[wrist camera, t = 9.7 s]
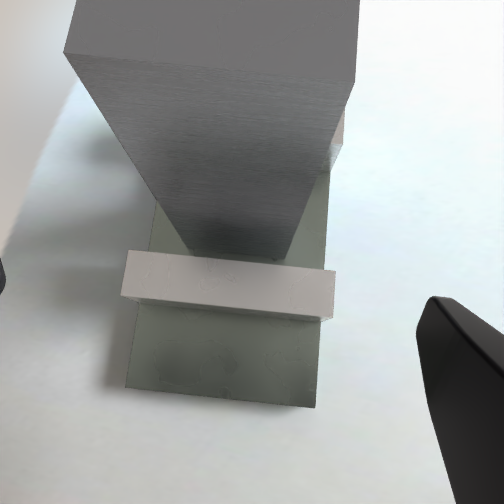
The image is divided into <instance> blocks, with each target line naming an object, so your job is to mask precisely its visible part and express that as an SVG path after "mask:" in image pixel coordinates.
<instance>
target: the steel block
mask: <svg viewBox="0 0 504 504" xmlns="http://www.w3.org/2000/svg"><path fill="white" fill-rule="evenodd" d="M359 5H360V0H77V1H76V5H75V9H74V12H73V16H72V20H71V24H70V28H69V32H68V36H67V40H66V43H65V47H64V51H63V53H64V55H65V56H66V58H67V59H68V61H69V63H70V64H71V66H72V67H73V69H74V70H75V72H76V74H77V75H78V77H79V78H80V80H81V82H82V83H83V85H84V86H85V88H86V89H87V91H88V93H89V94H90V96H91V97H92V99H93V100H94V102H95V104H96V105H97V107H98V108H99V110H100V111H101V113H102V115H103V116H104V118H105V119H106V121H107V123H108V124H109V126H110V127H111V129H112V130H113V132H114V134H115V135H116V137H117V138H118V140H119V141H120V143H121V145H122V146H123V148H124V149H125V151H126V152H127V154H128V156H129V157H130V159H131V160H132V162H133V163H134V165H135V167H136V168H137V170H138V171H139V173H140V175H141V176H142V178H143V179H144V181H145V182H146V184H147V186H148V187H149V189H150V190H151V192H152V193H153V195H154V197H155V198H156V200H157V201H158V203H159V204H160V206H161V208H162V209H163V211H164V212H165V214H166V215H167V217H168V219H169V220H170V222H171V223H172V225H173V226H174V228H175V230H176V231H177V233H178V234H179V236H180V238H181V239H182V241H183V242H184V244H185V245H186V247H187V249H195V250H204V251H213V252H222V253H231V254H240V255H249V256H259V257H268V258H277V259H285V258H286V255H287V253H288V250H289V248H290V245H291V243H292V240H293V237H294V235H295V232H296V230H297V227H298V225H299V222H300V220H301V217H302V215H303V212H304V210H305V207H306V205H307V202H308V199H309V197H310V194H311V192H312V189H313V187H314V184H315V182H316V179H317V177H318V174H319V172H320V169H321V167H322V164H323V161H324V159H325V156H326V154H327V151H328V149H329V146H330V144H331V141H332V139H333V136H334V134H335V131H336V128H337V126H338V123H339V121H340V118H341V116H342V113H343V111H344V108H345V106H346V103H347V101H348V98H349V96H350V93H351V90H352V88H353V85H354V83H355V72H356V55H357V38H358V22H359Z"/></svg>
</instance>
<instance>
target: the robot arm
mask: <svg viewBox="0 0 504 504" xmlns="http://www.w3.org/2000/svg"><path fill="white" fill-rule="evenodd" d="M5 283H6V276H5V272H4V269H3V266H2V262H1V259H0V294H1V293H2V291H3V289H4V287H5ZM416 339H417V345H418V351H419V357H420V363H421V369H422V375H423V381H424V387H425V393H426V398H427V403H428V408H429V411H430V415H431V419H432V422H433V426H434V429H435V433H436V436H437V440H438V443H439V446H440V450H441V453H442V457H443V460H444V464H445V467H446V471H447V474H448V478H449V481H450V484H451V488H452V491H453V495H454V498H455V502H456V504H504V335H503V334H502V333H501V332H499V331H498V330H496V329H495V328H493V327H492V326H491V325H489V324H488V323H486V322H485V321H484V320H482V319H481V318H479V317H478V316H477V315H475V314H474V313H472V312H471V311H470V310H468V309H467V308H465V307H464V306H463V305H461V304H460V303H458V302H457V301H456V300H454V299H452V298H447V297H438V296H432V297H430V298H429V299H428V301H427V303H426V305H425V308H424V310H423V313H422V315H421V318H420V320H419V323H418V325H417V329H416Z"/></svg>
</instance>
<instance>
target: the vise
mask: <svg viewBox="0 0 504 504" xmlns="http://www.w3.org/2000/svg"><path fill="white" fill-rule="evenodd" d="M344 115H345V108H344V111H343V113H342V116H341V118H340V121H339V123H338V126H337V128H336V131H335V134H334V136H333V139H332V141H331V144H330V146H329V149H328V151H327V154H326V156H325V159H324V161H323V164H322V167H321V169H320V172H319V174H318V177H317V179H316V182H315V184H314V187H313V189H312V192H311V194H310V197H309V199H308V202H307V205H306V207H305V210H304V212H303V215H302V217H301V220H300V222H299V225H298V227H297V230H296V232H295V235H294V237H293V240H292V243H291V245H290V248H289V250H288V253H287V255H286V258H285V259H277V258H268V257H259V256H249V255H240V254H231V253H222V252H213V251H204V250H195V249H187V247H186V245H185V244H184V242H183V241H182V239H181V238H180V236H179V234H178V233H177V231H176V230H175V228H174V226H173V225H172V223H171V222H170V220H169V219H168V217H167V215H166V214H165V212H164V211H163V209H162V208H161V206H160V204H159V203H158V201H157V202H156V208H155V214H154V220H153V226H152V232H151V238H150V243H149V249H148V252H146V251H137V250H128V255H127V261H126V266H125V272H124V278H123V283H122V289H121V294H120V296H123V297H126V298H128V299H131V300H133V301H136V302H138V303H139V308H138V314H137V320H136V326H135V332H134V338H133V344H132V350H131V356H130V361H129V367H128V373H127V379H126V385H125V388H134V389H144V390H153V391H162V392H171V393H180V394H189V395H198V396H207V397H216V398H225V399H235V400H244V401H253V402H262V403H271V404H280V405H289V406H298V407H307V408H315V404H316V388H317V372H318V356H319V341H320V325H321V322H323V321H325V320H328V319H331V318H333V309H334V291H335V273H336V271H331V270H324V262H325V246H326V231H327V215H328V199H329V183H330V172H331V169H332V167H333V165H334V163H335V161H336V158H337V156H338V154H339V152H340V150H341V147H342V145H343V132H344Z"/></svg>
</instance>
